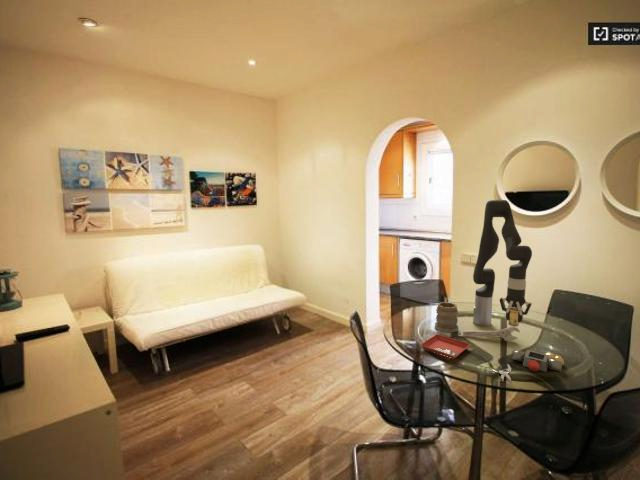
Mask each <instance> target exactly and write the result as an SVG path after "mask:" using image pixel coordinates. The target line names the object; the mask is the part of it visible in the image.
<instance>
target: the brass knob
mask: <svg viewBox="0 0 640 480" xmlns="http://www.w3.org/2000/svg"><path fill="white" fill-rule="evenodd" d="M519 315H520V314H519V311H518V308H515V307H511V308H510V309H509V320H508V325H509V327H510V326H514V327H517V328H518V327H519V325H520V322H519Z"/></svg>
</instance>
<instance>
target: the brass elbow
mask: <svg viewBox="0 0 640 480" xmlns="http://www.w3.org/2000/svg"><path fill="white" fill-rule="evenodd" d="M543 354H547V355H548V358H550V359H554V360H558V361H562V367H563V366H564V365H565V361H564V359H563V358H562V356H561V355H559V354H556V353H549V352H547V353H546V352H544V353H543Z"/></svg>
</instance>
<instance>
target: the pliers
mask: <svg viewBox="0 0 640 480" xmlns="http://www.w3.org/2000/svg"><path fill="white" fill-rule="evenodd" d="M485 364H488V365H490V364H489V363H488V362H486V363H485ZM506 365H507V368H506V369H504V370H506V371H510V373H511V372H512V367H511V366H510V364H508V363H507V364H506ZM499 373H500V374H502V375H501V377H500V380H501V379H502V380H501V381H502V382H504V379H505V380H507V381H508V383H510V382H512V378H511V377H510V375H509V374H507V373H505V371H504V372H503V371H500V370H499ZM504 377H506V378H504Z"/></svg>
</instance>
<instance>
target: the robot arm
mask: <svg viewBox="0 0 640 480" xmlns="http://www.w3.org/2000/svg"><path fill="white" fill-rule="evenodd" d="M494 218H503V219H504V223H503V225H502V227H501V236H502V238H503V241H504V242H505V255H506V258H507V259H508V260H509V261H515V262H516V261H518V263H516V264H511V265H509V267H508V268H509V269H508V270H509V271H508V280H507V287H506V288H507V289H506V290H507V291H506V297H500V298H499V303H500V306H501V307H500V308H501V310H502V311H503V312H505V319H506V320H507V321H509V309H510V308H511V307H515V308H518V311H519V314H520V315H519V323H521V322H523V320H524V319H523V318H524V315H525V316H527V315H528V313H529V311H530V309H531V306H532V304H533V303H532V302H528V301H527V300H526V287H527V285H526V284H527V282H526V281H527V280H526V279H527V269H528V267H529V265H530V262H531V259H532V256H533V251H532V249H531V247H530V246H528V245H521V243H522V237H521V236H520V233H519V232H518V229H517V226H516V223H515V221H514V220H515V219H514V215H513V212H512V208H511V204H510V203H509V201H508V200H505V199H489V200H487V201H486V203H485V208H484V219H483V227H482V233H481V237H480V243H479V247H478V248H479V249H478V255H477V260H476V263H475V266H474V269H473V275H472V278H473V282H474V283H475V285H483V286H482V287H479V288H477V289H475V294H474V295H475V296H474V297H475V299H474V307H473V317H472V323H473V324H475V325H479V326H483V327H488V326H489V327H490V326H491V325H492V315H493V297H494V290H495V281H496V273H495V271H494V269H493V268H485V267H486V264H487V263H488V262H489V261H490V260H491V259H492V258H493V256H495V254H496V253H497V252H498V248H499V243H500V239H499V235H498V233H497V232H496V230H495V227H494V225H493V219H494ZM506 302H507V304H508V306H507V307H506V304H505V303H506ZM524 305H525V307H526V308H525V310H523V306H524Z"/></svg>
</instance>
